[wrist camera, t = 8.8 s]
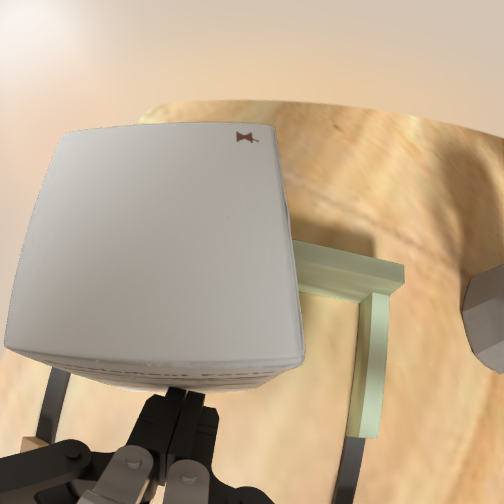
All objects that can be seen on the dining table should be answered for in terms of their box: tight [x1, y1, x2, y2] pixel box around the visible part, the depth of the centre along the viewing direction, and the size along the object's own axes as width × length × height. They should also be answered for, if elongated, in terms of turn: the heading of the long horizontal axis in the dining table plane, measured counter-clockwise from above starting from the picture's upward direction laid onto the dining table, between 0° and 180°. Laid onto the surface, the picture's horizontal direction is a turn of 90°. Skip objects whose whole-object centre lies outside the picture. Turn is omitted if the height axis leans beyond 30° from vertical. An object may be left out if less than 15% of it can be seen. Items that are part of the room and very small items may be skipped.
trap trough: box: [20, 239, 405, 504], centre depth 14 cm, size 22×19×4 cm
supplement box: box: [4, 122, 305, 393], centre depth 13 cm, size 7×7×13 cm
